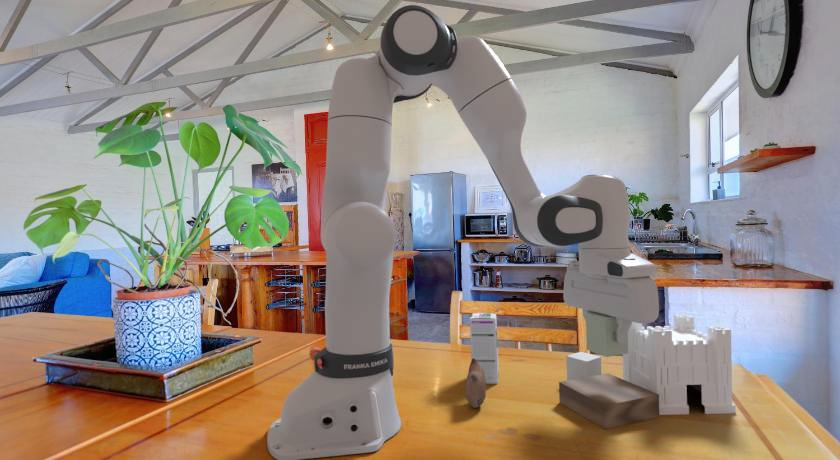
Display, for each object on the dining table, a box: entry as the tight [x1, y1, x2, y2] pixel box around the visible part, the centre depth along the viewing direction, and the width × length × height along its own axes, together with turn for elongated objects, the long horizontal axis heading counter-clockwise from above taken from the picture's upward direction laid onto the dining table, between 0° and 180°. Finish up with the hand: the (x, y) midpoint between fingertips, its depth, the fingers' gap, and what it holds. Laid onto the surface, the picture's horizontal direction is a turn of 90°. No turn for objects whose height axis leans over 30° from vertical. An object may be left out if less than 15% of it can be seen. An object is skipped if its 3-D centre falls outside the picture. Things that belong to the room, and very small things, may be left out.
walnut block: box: [558, 372, 660, 430], centre depth 81 cm, size 12×12×4 cm
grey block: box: [565, 351, 602, 381], centre depth 94 cm, size 5×5×6 cm
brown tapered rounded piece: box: [464, 358, 487, 409], centre depth 85 cm, size 9×4×8 cm, turn 175°
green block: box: [585, 312, 628, 358], centre depth 81 cm, size 5×5×7 cm
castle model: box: [622, 313, 737, 416], centre depth 85 cm, size 14×14×15 cm
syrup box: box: [469, 312, 500, 385], centre depth 98 cm, size 6×6×14 cm
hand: (606, 337), depth 81 cm, fingers closed on green block, 5 cm apart
